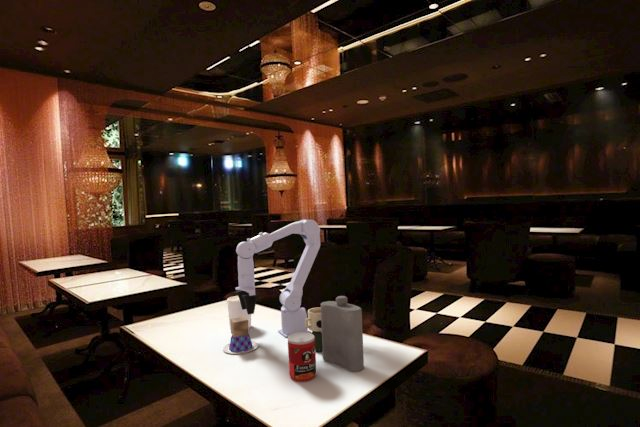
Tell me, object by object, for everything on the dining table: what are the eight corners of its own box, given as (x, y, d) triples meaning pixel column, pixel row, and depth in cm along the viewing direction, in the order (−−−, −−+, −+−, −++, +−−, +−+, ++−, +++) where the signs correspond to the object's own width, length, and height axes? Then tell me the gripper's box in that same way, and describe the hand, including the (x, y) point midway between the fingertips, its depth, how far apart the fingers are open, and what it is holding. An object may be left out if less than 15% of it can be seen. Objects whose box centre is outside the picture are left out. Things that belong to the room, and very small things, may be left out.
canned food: (294, 384, 97) (293, 344, 97) (285, 373, 104) (283, 335, 104) (321, 378, 100) (319, 338, 100) (310, 367, 107) (308, 330, 107)
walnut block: (245, 330, 128) (244, 316, 128) (248, 334, 124) (248, 320, 124) (231, 332, 126) (230, 318, 126) (234, 337, 122) (233, 322, 122)
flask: (369, 366, 106) (366, 298, 106) (356, 373, 102) (353, 303, 101) (332, 353, 117) (330, 291, 116) (319, 359, 113) (317, 295, 112)
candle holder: (240, 332, 141) (239, 302, 140) (223, 329, 146) (221, 299, 146) (257, 325, 149) (256, 296, 149) (240, 322, 154) (239, 294, 154)
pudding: (216, 350, 124) (215, 335, 124) (244, 340, 133) (243, 326, 133) (237, 358, 117) (236, 342, 116) (265, 347, 126) (265, 332, 126)
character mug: (313, 356, 115) (311, 315, 115) (300, 350, 121) (298, 311, 120) (339, 347, 122) (337, 308, 122) (325, 341, 127) (324, 304, 127)
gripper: (230, 273, 137) (232, 308, 137) (240, 278, 124) (242, 318, 124) (248, 270, 140) (250, 305, 140) (260, 276, 127) (261, 314, 127)
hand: (247, 311), depth 132 cm, fingers open, 7 cm apart
